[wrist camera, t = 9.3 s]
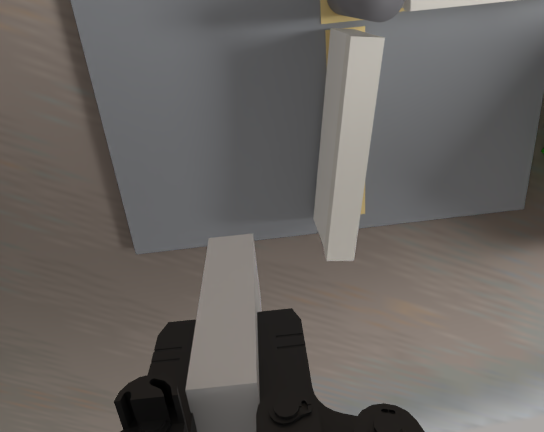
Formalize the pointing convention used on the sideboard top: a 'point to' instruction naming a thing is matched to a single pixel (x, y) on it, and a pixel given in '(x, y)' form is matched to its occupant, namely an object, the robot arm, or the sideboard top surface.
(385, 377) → the sideboard top surface
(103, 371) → the sideboard top surface
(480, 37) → the card
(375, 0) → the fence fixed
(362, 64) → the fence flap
